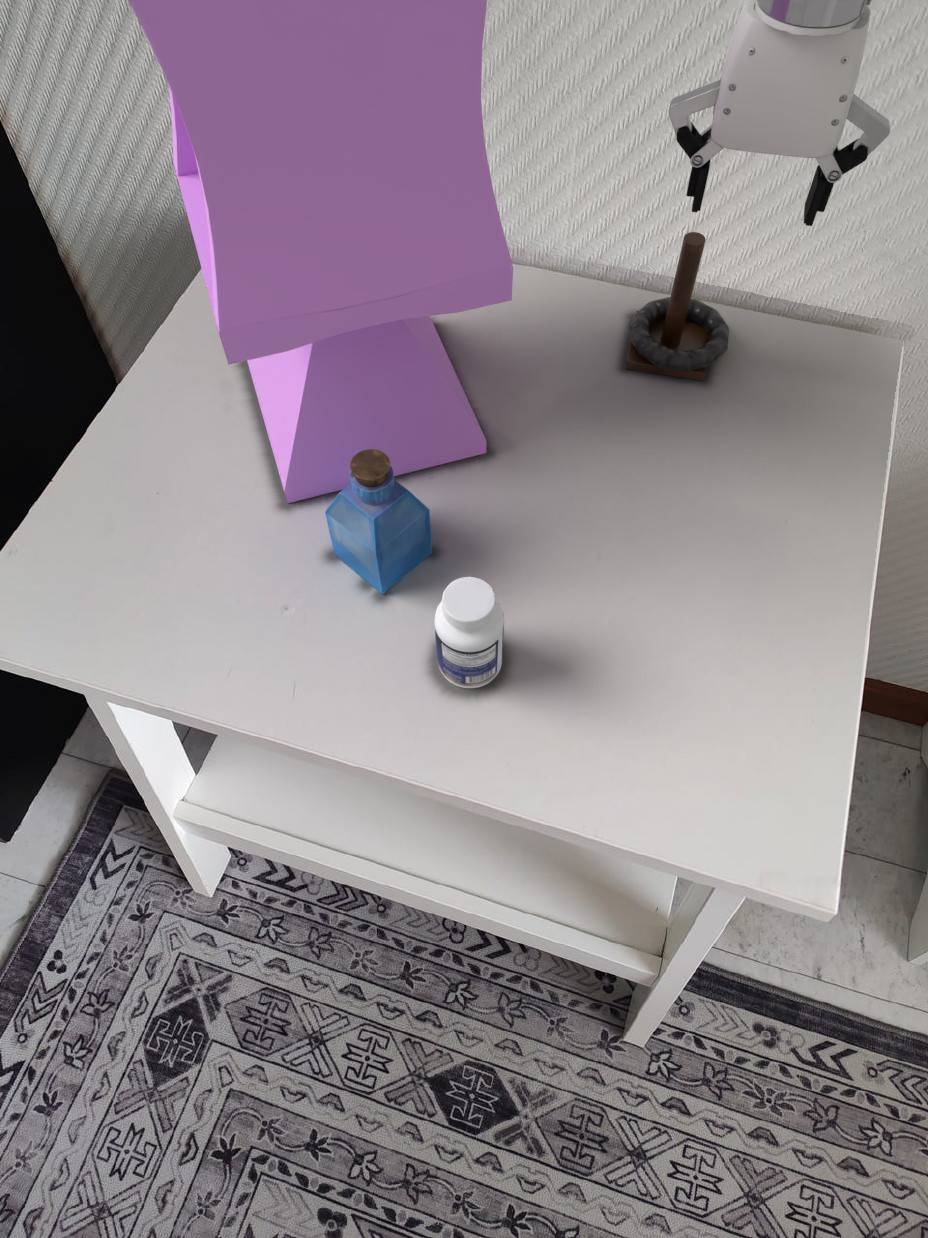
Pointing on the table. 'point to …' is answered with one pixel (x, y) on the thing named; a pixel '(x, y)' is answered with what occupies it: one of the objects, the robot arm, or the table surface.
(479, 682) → the pill bottle
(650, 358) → the ring
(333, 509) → the perfume bottle
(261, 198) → the purple table lamp
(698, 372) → the stand
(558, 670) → the table surface
